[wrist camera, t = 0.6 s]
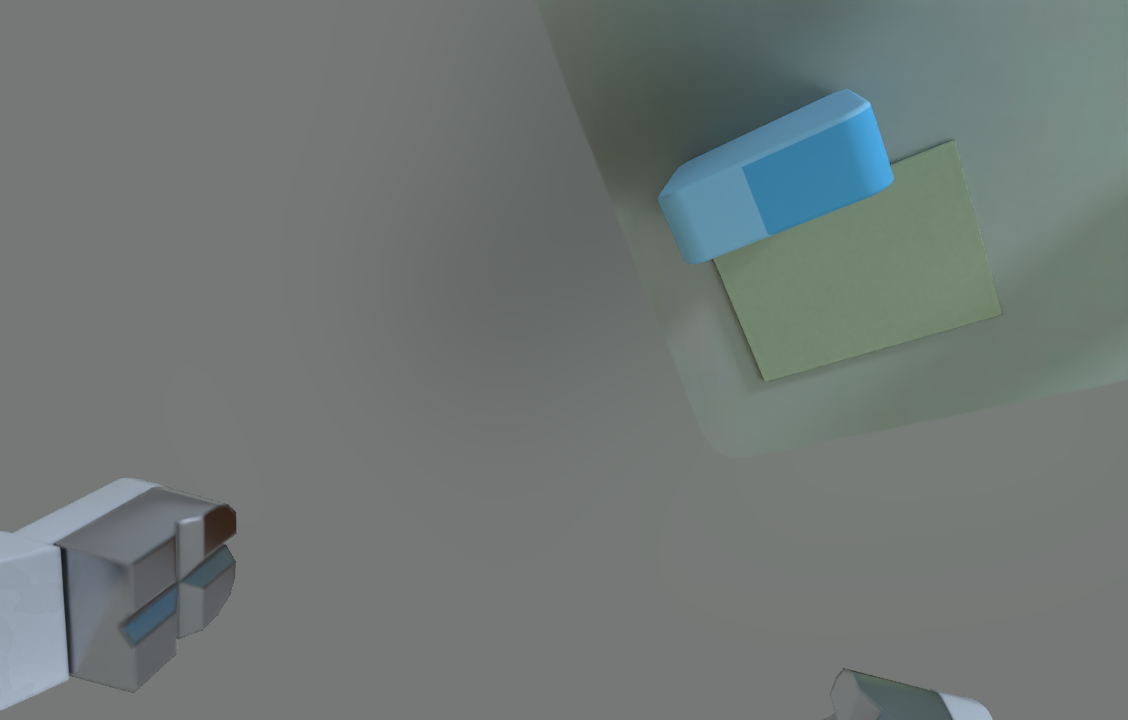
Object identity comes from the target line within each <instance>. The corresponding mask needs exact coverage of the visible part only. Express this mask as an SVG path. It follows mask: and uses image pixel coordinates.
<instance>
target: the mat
mask: <svg viewBox="0 0 1128 720" xmlns="http://www.w3.org/2000/svg"><path fill="white" fill-rule="evenodd" d="M890 167H891V170H892V173H893V176H894V179H893V182H892V183H891V184H890V185H889V186H888V187H887V188H886V189H884V190H883V191H881V192H879V193H877V194H875V195H873V196H871V197H869V198H866V199H864V200H861V201H859V202H856V203H854V204H851V205H848V206H846V207H843V208H841V209H838V210H836V211H833V212H831V213H828V214H825V215H823V216H820V217H818V218H815V219H813V220H810V221H808V222H805V223H802V224H800V225H797V226H795V227H792V228H790V229H787V230H785V231H782V232H779V233H777V234H774V235H772V236H769V237H767V238H764V239H762V240H759V241H756V242H754V243H751V244H749V245H746V246H744V247H741V248H739V249H736V250H733V251H731V252H728V253H726V254H723V255H721V256H718V257H716V258H713V259H714V262H715V264H716V267H717V269H718V271H719V274H720V276H721V278H722V281H723V283H724V286H725V288H726V290H727V293H728V295H729V298H730V300H731V302H732V305H733V307H734V310H735V312H736V314H737V317H738V319H739V322H740V324H741V326H742V329H743V331H744V334H745V336H746V338H747V341H748V343H749V346H750V348H751V350H752V353H753V355H754V357H755V360H756V362H757V365H758V367H759V369H760V372H761V374H762V377H763V379H764V381H765V382H768V381H772V380H775V379H779V378H782V377H786V376H789V375H793V374H796V373H800V372H803V371H807V370H810V369H814V368H817V367H821V366H824V365H828V364H831V363H835V362H838V361H842V360H845V359H849V358H852V357H856V356H859V355H863V354H866V353H870V352H873V351H877V350H880V349H884V348H887V347H891V346H894V345H898V344H901V343H905V342H908V341H912V340H915V339H919V338H922V337H926V336H929V335H933V334H936V333H940V332H943V331H947V330H950V329H954V328H957V327H961V326H964V325H968V324H971V323H975V322H978V321H982V320H985V319H989V318H992V317H996V316H999V315H1002V310H1001V307H1000V303H999V299H998V296H997V292H996V288H995V285H994V281H993V278H992V274H991V270H990V267H989V263H988V260H987V256H986V252H985V249H984V245H983V241H982V238H981V234H980V231H979V227H978V223H977V220H976V216H975V212H974V209H973V205H972V202H971V198H970V194H969V191H968V187H967V183H966V180H965V176H964V173H963V169H962V165H961V162H960V158H959V154H958V151H957V147H956V144H955V140H951V141H949V142H946V143H944V144H941V145H939V146H936V147H934V148H931V149H929V150H926V151H924V152H921V153H919V154H916V155H914V156H911V157H909V158H906V159H904V160H901V161H899V162H896V163H894V164H891V165H890Z"/></svg>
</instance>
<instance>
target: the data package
mask: <svg viewBox="0 0 1128 720" xmlns="http://www.w3.org/2000/svg"><path fill="white" fill-rule="evenodd" d="M893 179H894V176H893V173H892V170H891V167H890V163H889V160H888V157H887V154H886V151H885V148H884V145H883V142H882V138H881V135H880V132H879V129H878V126H877V123H876V120H875V117H874V113H873V110H872V107H871V104H870V103H869V102H868V101H867V100H865V99H863V98H862V97H860V96H859V95H857V94H856V93H854V92H853V91H851V90H850V89H844V90H841V91H838V92H835V93H833V94H830V95H828V96H826V97H823V98H821V99H819V100H817V101H815V102H813V103H811V104H808V105H806V106H804V107H802V108H800V109H798V110H796V111H793V112H791V113H789V114H787V115H785V116H783V117H781V118H779V119H776V120H774V121H772V122H770V123H768V124H766V125H764V126H762V127H759V128H757V129H755V130H753V131H751V132H749V133H747V134H745V135H742V136H740V137H738V138H736V139H734V140H732V141H730V142H727V143H725V144H723V145H721V146H719V147H717V148H715V149H713V150H710V151H708V152H706V153H704V154H702V155H700V156H698V157H696V158H694V159H692V160H690V161H688V162H686V163H684V164H683V165H681V166H680V167H679V168H678V169H677V170H676V171H675V173H674V174H673V176H672V177H671V178H670V180H669V181H668V183H667V184H666V186H665V187H664V189H663V190H662V191H661V193H660V194H659V196H658V202H659V204H660V206H661V209H662V211H663V213H664V215H665V218H666V220H667V222H668V224H669V227H670V229H671V231H672V233H673V236H674V238H675V240H676V243H677V245H678V247H679V249H680V252H681V254H682V256H683V258H684V261H685V262H686V263H688V264H697V263H702V262H705V261H708V260H710V259H713V258H716V257H718V256H721V255H723V254H726V253H728V252H731V251H733V250H736V249H739V248H741V247H744V246H746V245H749V244H751V243H754V242H756V241H759V240H762V239H764V238H767V237H769V236H772V235H774V234H777V233H779V232H782V231H785V230H787V229H790V228H792V227H795V226H797V225H800V224H802V223H805V222H808V221H810V220H813V219H815V218H818V217H820V216H823V215H825V214H828V213H831V212H833V211H836V210H838V209H841V208H843V207H846V206H848V205H851V204H854V203H856V202H859V201H861V200H864V199H866V198H869V197H871V196H873V195H875V194H877V193H879V192H881V191H883V190H884V189H886V188H887V187H888V186H889V185H890V184H891V183H892V182H893Z"/></svg>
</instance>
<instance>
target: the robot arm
mask: <svg viewBox="0 0 1128 720" xmlns="http://www.w3.org/2000/svg"><path fill="white" fill-rule="evenodd" d="M235 534H236V512H235V511H234V510H233V509H232V508H231V507H230V506H229V505H228V504H225V503H222V502H218V501H214V500H212V499H208V498H205V497H201V496H198V495H194V494H191V493H187V492H184V491H180V490H177V489H174V488H170V487H167V486H165V487H164V486H161V485H159V484H155V483H151V482H148V481H144V480H140V479H137V478H120V479H118V480H116V481H114V482H112V483H111V484H108V485H106V486H104V487H102V488H100V489H98V490H97V491H95V492H93V493H91V494H89V495H87V496H85V497H83V498H81V499H79V500H77V501H75V502H73V503H71V504H69V505H67V506H65V507H63V508H61V509H59V510H57V511H55V512H53V513H51V514H49V515H47V516H46V517H43V518H42V519H39V520H38V521H36V522H34V523H32V524H30V525H28V526H26V527H24V528H22V529H20V530H18V531H16V532H14V533H8V532H4V531H0V711H1V710H3V709H6V708H8V707H10V706H12V705H14V704H17V703H19V702H21V701H23V700H26V699H28V698H30V697H32V696H34V695H37V694H39V693H41V692H43V691H45V690H48V689H50V688H52V687H54V686H56V685H59V684H61V683H63V682H65V681H67V680H69V676H72V677H76V678H80V679H83V680H87V681H91V682H94V683H98V684H101V685H105V686H109V687H112V688H116V689H120V690H123V691H127V692H131V693H135V692H136V691H137V690H138V689H139V688H140V687H141V686H142V685H143V684H144V683H146V682H147V681H148V680H149V679H150V678H151V677H152V676H153V675H154V674H155V673H156V672H158V671H159V670H160V669H161V668H162V667H163V666H164V665H165V664H166V663H167V662H168V661H170V660H171V659H172V658H173V657H174V656H175V655H176V652H177V645H178V639H180V638H183V637H185V636H188V635H191V634H194V633H197V632H199V631H202V630H203V629H204V628H205V627H206V626H207V625H208V624H209V623H210V622H211V621H212V620H213V619H215V618H216V616H218V614H219V612H220V611H221V609H222V607H223V606H224V604H225V603H226V601H227V599H228V597H229V596H230V594H231V590H232V587H233V583H234V579H235V568H236V561H235V559H234V558H233V556H232V554H231V552H230V551H229V549H228V547H227V545H226V544H227V543H228V542H229V541H230V540H231V539H232V538H233V536H234V535H235ZM830 696H831V700H832V703H833V707H834V710H835V713H834V714H833V715H831V716H829V717H828V718H826V719H824V720H993V719H992V717H991V716H990V714H989V712H988V711H987V709H986V708H985V707H984V706H983V705H981V704H980V703H979V702H978V701H977V700H975V699H971V698H967V697H963V696H958V695H954V694H950V693H946V692H941V691H937V690H933V689H930V690H927V689H923V688H919V687H915V686H911V685H907V684H903V683H900V682H896V681H892V680H888V679H884V678H880V677H876V676H872V675H868V674H865V673H861V672H857V671H853V670H849V669H845V668H843V670H842V671H841V672H840V673H839V674H838V675H837V677H836V679H835V682H834V684H833V687H832V689H831V692H830Z"/></svg>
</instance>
